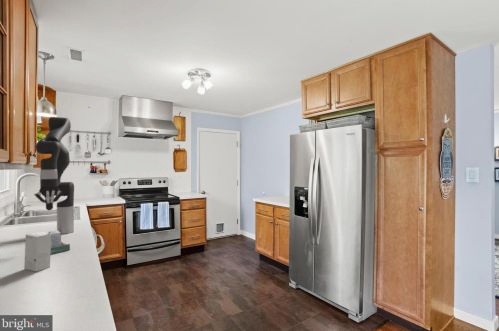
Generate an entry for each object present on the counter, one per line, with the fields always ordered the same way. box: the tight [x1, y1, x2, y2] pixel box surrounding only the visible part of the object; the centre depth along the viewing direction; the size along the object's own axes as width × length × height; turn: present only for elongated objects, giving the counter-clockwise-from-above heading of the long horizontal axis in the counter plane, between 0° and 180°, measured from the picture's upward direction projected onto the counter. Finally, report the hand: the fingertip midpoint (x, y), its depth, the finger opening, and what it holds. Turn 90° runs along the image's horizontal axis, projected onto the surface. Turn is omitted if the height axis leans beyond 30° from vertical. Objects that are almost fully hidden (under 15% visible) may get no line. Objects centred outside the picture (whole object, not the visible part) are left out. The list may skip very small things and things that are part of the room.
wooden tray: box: [50, 241, 71, 255], centre depth 142 cm, size 24×9×3 cm, turn 53°
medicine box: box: [47, 230, 62, 248], centre depth 138 cm, size 8×4×9 cm, turn 44°
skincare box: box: [23, 231, 52, 272], centre depth 114 cm, size 8×6×15 cm
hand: (49, 209), depth 143 cm, fingers closed
